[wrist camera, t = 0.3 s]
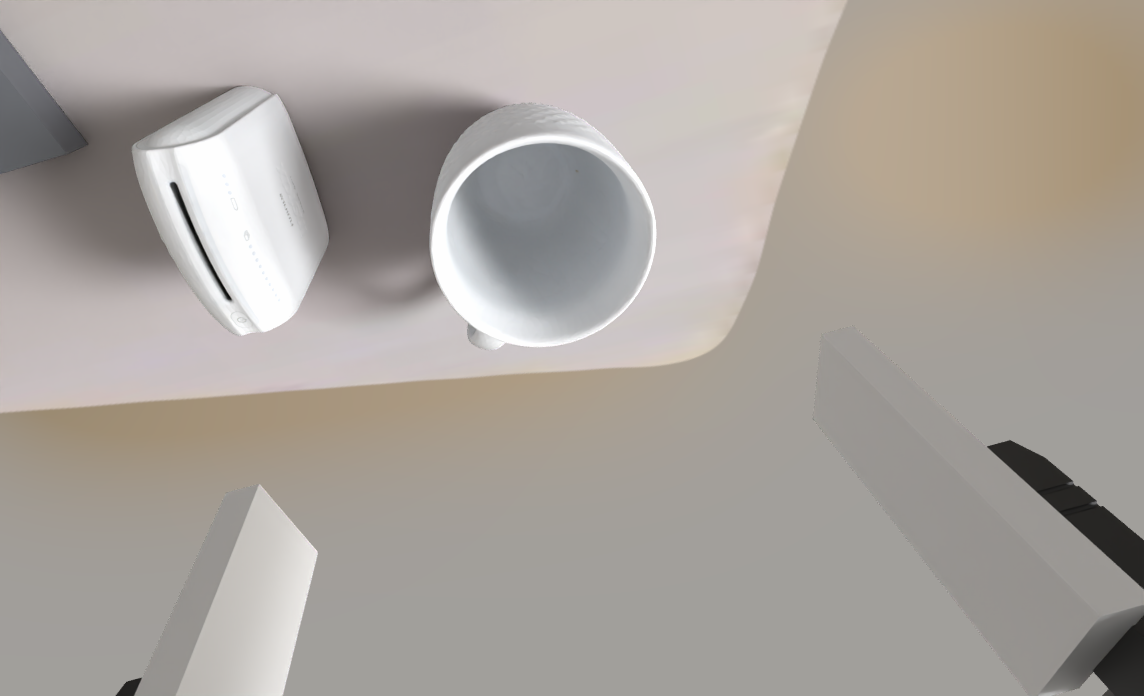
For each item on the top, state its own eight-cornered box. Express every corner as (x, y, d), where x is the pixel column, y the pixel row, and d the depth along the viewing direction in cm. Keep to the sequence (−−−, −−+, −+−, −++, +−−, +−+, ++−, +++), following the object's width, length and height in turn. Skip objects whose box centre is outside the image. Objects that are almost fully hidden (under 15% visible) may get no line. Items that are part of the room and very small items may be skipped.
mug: (544, 309, 42) (571, 420, 32) (403, 266, 38) (380, 377, 28) (630, 124, 35) (701, 187, 25) (469, 48, 32) (472, 87, 21)
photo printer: (340, 245, 37) (294, 347, 27) (275, 253, 36) (204, 359, 26) (284, 81, 31) (199, 131, 21) (206, 88, 31) (81, 144, 21)
